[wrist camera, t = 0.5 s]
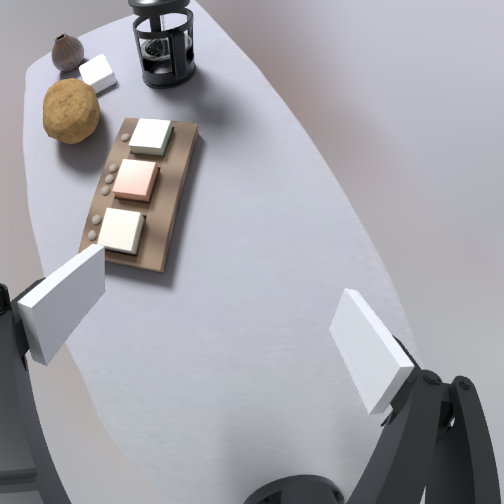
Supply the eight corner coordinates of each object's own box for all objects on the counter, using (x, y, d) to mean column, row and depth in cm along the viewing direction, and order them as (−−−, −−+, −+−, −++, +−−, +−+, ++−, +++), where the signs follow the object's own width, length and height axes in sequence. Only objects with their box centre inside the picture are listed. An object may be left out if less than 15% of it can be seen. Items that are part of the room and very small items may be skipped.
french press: (135, 67, 38) (114, -35, 16) (181, 49, 40) (178, -52, 18) (156, 102, 37) (134, -23, 15) (209, 81, 39) (214, -40, 17)
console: (164, 273, 32) (159, 270, 29) (86, 257, 31) (77, 253, 29) (198, 134, 37) (197, 122, 34) (129, 127, 36) (124, 117, 33)
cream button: (138, 256, 31) (131, 250, 28) (106, 249, 31) (97, 244, 28) (146, 220, 32) (140, 212, 29) (115, 215, 32) (106, 207, 29)
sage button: (164, 160, 34) (160, 147, 31) (134, 156, 33) (128, 145, 31) (173, 133, 35) (170, 120, 32) (144, 131, 34) (139, 118, 31)
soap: (117, 83, 38) (114, 72, 35) (90, 98, 36) (85, 87, 33) (106, 62, 39) (103, 52, 36) (81, 75, 37) (77, 65, 34)
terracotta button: (150, 205, 32) (145, 195, 29) (119, 200, 32) (112, 191, 29) (159, 173, 33) (155, 162, 30) (129, 170, 33) (123, 159, 30)
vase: (69, 78, 37) (55, 49, 28) (53, 74, 37) (39, 47, 28) (93, 57, 38) (82, 27, 30) (75, 53, 38) (65, 26, 30)
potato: (68, 172, 33) (43, 145, 25) (48, 122, 34) (29, 95, 27) (120, 134, 35) (104, 100, 27) (92, 90, 36) (79, 60, 29)
